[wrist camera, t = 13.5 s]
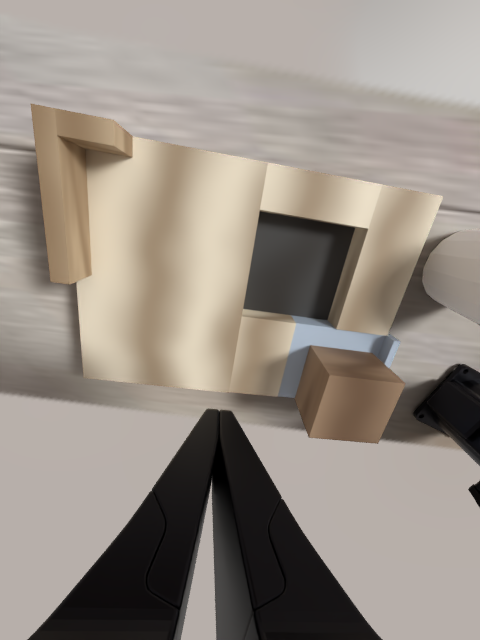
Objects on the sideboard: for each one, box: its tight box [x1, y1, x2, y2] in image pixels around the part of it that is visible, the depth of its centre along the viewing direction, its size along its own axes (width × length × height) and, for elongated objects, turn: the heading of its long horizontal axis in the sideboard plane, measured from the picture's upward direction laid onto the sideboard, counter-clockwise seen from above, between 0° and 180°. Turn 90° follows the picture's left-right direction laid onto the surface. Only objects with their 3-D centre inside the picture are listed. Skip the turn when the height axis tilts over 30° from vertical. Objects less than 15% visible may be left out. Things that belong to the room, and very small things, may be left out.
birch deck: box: [31, 104, 443, 397], centre depth 17 cm, size 22×16×4 cm
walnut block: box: [295, 345, 405, 444], centre depth 19 cm, size 5×5×4 cm
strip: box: [278, 315, 400, 398], centre depth 20 cm, size 8×6×3 cm
